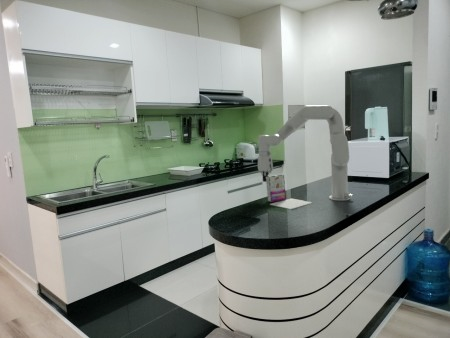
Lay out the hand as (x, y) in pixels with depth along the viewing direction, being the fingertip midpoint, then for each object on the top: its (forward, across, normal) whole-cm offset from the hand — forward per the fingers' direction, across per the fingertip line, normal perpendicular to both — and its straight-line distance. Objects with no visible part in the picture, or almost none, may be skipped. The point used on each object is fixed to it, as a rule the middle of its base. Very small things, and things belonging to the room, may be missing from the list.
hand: (265, 181), depth 225 cm
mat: (+12, -22, 0) cm, 25 cm away
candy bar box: (+12, -10, 0) cm, 16 cm away
